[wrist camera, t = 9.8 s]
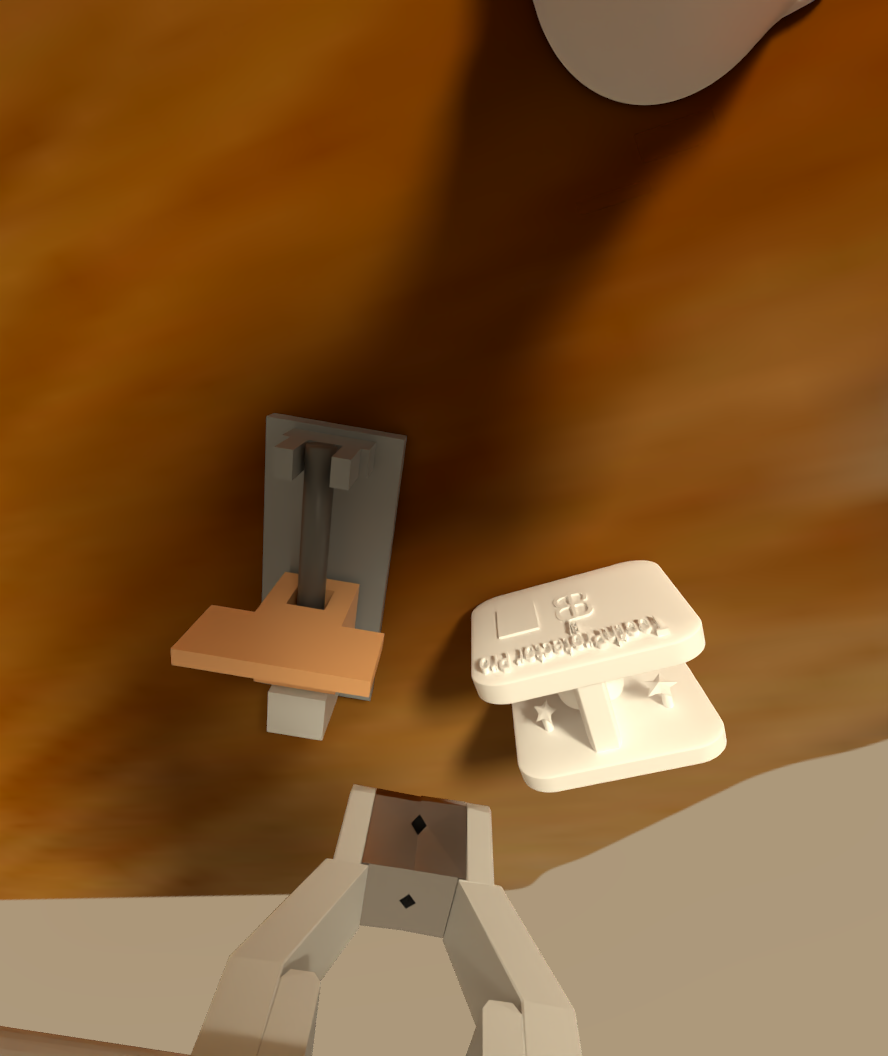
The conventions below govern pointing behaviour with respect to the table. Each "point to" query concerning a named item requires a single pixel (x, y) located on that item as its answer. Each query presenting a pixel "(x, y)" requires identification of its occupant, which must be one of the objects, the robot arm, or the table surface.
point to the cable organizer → (597, 676)
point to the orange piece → (287, 641)
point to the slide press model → (327, 533)
